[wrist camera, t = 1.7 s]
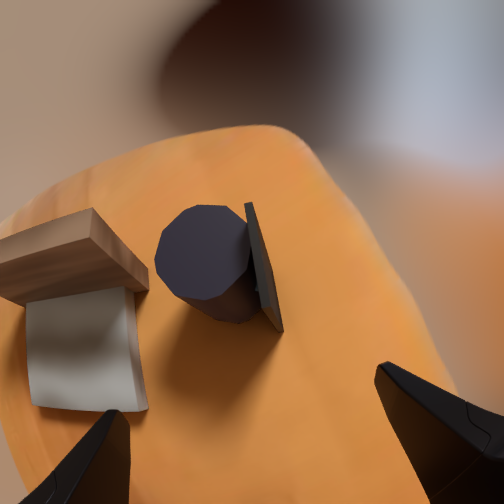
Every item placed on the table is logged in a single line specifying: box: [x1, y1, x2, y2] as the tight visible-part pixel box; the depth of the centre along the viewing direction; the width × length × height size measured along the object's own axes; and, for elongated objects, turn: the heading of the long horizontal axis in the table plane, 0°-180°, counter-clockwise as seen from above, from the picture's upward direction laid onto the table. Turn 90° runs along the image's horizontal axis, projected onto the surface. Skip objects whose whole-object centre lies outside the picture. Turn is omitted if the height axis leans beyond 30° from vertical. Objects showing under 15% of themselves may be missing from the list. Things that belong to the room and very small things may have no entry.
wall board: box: [0, 207, 149, 412], centre depth 16 cm, size 12×15×10 cm
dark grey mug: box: [154, 202, 284, 333], centre depth 18 cm, size 8×6×10 cm
